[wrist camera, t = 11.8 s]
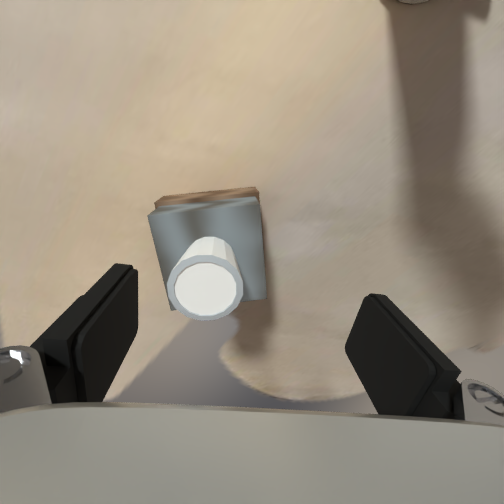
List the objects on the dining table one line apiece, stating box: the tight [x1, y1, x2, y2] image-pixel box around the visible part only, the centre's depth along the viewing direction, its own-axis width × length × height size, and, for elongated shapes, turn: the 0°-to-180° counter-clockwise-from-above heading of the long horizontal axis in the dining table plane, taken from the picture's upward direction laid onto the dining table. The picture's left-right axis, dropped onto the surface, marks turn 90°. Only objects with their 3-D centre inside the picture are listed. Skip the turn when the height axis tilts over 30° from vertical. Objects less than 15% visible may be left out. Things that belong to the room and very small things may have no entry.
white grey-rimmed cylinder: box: [167, 237, 243, 321], centre depth 26 cm, size 7×7×7 cm
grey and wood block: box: [148, 187, 267, 310], centre depth 34 cm, size 13×13×10 cm
